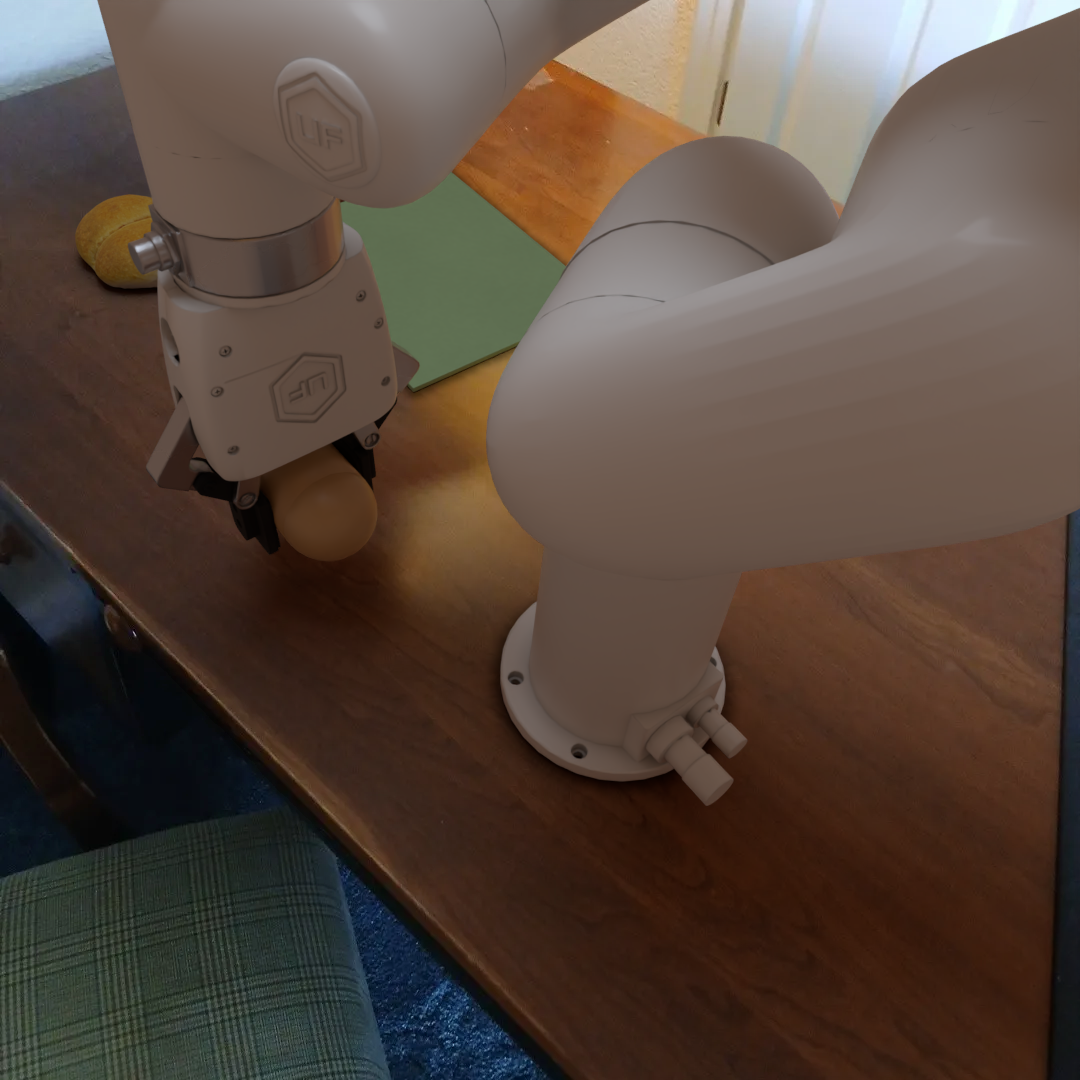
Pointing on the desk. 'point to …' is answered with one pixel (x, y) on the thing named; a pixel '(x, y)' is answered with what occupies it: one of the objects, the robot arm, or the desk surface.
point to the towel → (453, 277)
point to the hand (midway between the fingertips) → (309, 510)
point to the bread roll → (116, 240)
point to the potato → (321, 504)
